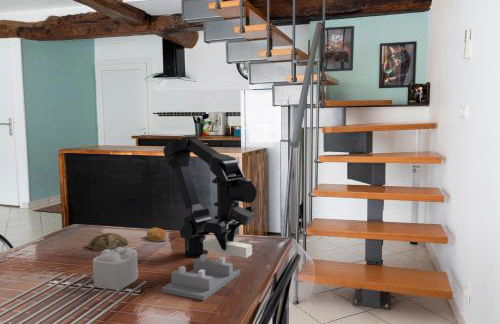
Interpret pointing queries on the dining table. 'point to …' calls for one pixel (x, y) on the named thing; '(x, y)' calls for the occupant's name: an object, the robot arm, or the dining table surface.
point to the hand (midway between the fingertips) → (227, 248)
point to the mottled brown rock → (107, 242)
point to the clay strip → (228, 247)
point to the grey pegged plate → (201, 278)
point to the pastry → (156, 234)
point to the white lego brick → (115, 268)
